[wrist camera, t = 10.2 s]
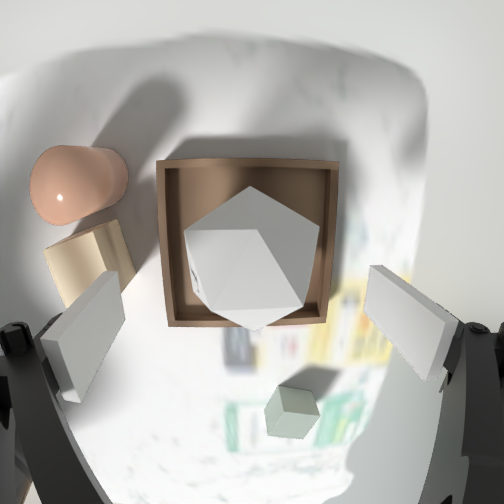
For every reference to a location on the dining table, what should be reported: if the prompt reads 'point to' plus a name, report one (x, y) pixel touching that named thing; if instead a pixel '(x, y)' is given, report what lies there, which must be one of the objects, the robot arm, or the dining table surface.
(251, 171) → the walnut tray
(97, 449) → the dining table surface
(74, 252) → the oak block
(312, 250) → the die
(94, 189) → the peach rounded capsule
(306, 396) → the grey-green block
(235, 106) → the dining table surface
